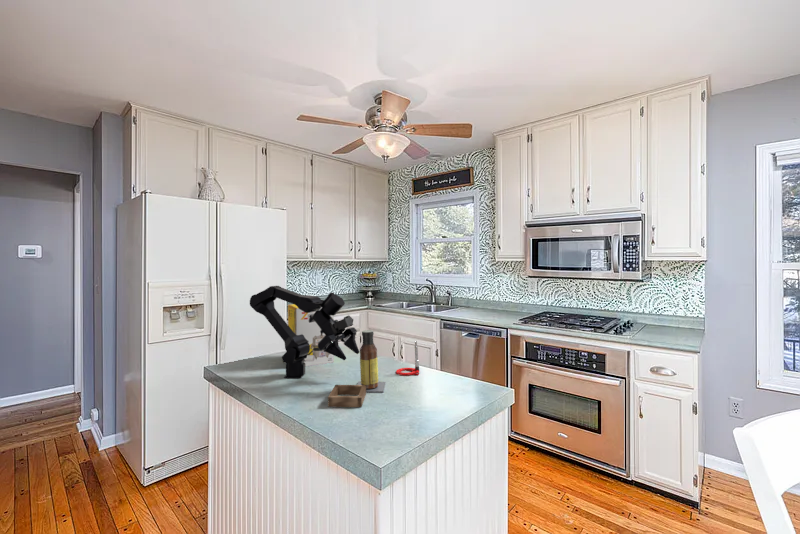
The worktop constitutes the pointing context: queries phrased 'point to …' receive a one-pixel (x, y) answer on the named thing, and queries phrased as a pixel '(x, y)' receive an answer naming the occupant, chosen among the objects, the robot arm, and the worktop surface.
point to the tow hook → (414, 370)
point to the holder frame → (347, 400)
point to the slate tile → (376, 390)
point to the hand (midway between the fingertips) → (352, 356)
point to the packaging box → (308, 335)
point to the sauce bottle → (368, 361)
